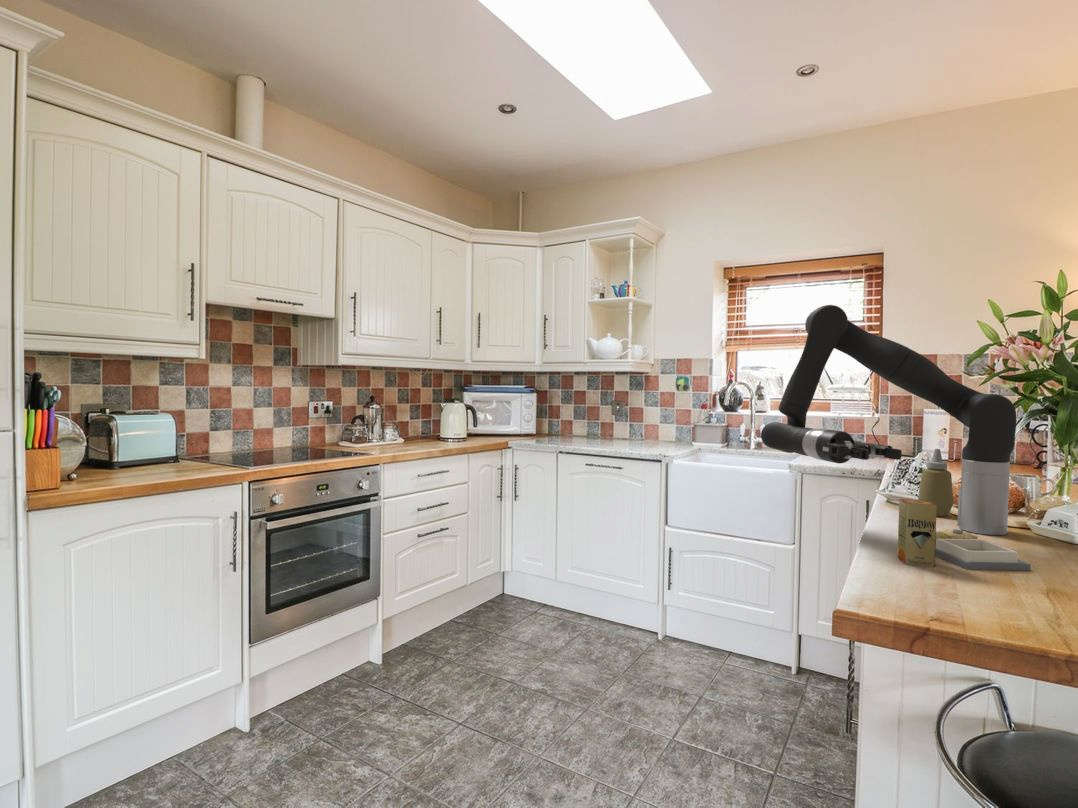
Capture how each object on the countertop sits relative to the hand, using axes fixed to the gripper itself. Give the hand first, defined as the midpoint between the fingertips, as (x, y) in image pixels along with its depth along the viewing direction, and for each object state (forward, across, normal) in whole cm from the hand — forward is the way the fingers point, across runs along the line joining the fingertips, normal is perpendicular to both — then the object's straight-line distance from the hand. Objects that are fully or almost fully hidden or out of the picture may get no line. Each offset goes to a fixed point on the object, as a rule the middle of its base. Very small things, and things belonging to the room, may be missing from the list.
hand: (884, 454), depth 123 cm
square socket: (+12, +12, +19) cm, 25 cm away
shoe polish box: (+9, 0, +20) cm, 22 cm away
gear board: (+8, +14, +20) cm, 25 cm away
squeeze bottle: (-24, +44, +20) cm, 54 cm away
